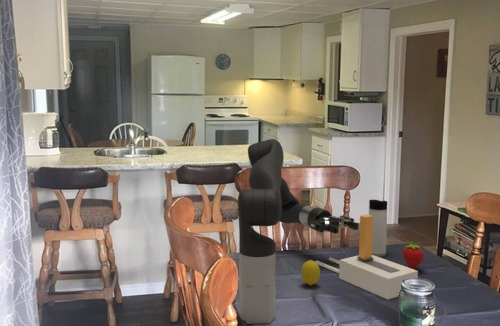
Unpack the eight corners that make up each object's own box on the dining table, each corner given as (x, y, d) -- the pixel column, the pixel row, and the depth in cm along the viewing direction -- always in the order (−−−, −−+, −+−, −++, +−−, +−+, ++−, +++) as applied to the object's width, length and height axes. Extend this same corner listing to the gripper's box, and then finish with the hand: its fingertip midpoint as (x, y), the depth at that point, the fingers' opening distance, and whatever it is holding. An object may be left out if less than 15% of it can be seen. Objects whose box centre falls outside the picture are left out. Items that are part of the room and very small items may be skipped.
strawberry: (412, 275, 168) (413, 244, 167) (397, 267, 175) (398, 238, 174) (427, 272, 170) (429, 242, 169) (412, 265, 177) (413, 236, 176)
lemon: (304, 281, 163) (305, 256, 162) (322, 284, 160) (322, 258, 159) (298, 287, 158) (298, 261, 157) (316, 290, 156) (316, 263, 154)
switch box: (417, 290, 155) (417, 270, 154) (387, 299, 148) (388, 278, 148) (367, 271, 172) (367, 252, 171) (339, 278, 165) (339, 259, 164)
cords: (359, 271, 171) (359, 268, 171) (342, 276, 167) (342, 272, 167) (330, 260, 183) (330, 256, 183) (314, 263, 179) (314, 260, 179)
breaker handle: (373, 259, 163) (374, 216, 161) (365, 261, 161) (367, 217, 159) (365, 256, 166) (366, 214, 164) (357, 258, 164) (358, 215, 162)
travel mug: (364, 255, 188) (366, 199, 185) (371, 250, 193) (373, 196, 191) (381, 258, 185) (383, 201, 182) (388, 253, 190) (390, 198, 187)
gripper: (298, 210, 178) (330, 220, 165) (331, 204, 186) (364, 214, 172) (298, 231, 180) (330, 243, 166) (330, 225, 187) (363, 236, 174)
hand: (347, 228), depth 169 cm, fingers open, 8 cm apart
